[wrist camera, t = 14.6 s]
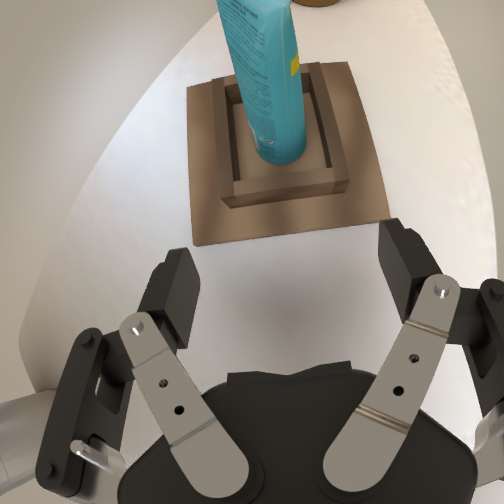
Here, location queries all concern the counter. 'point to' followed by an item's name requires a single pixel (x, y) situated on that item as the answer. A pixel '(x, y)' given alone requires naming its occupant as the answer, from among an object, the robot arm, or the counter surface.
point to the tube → (267, 74)
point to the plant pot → (316, 2)
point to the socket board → (282, 176)
